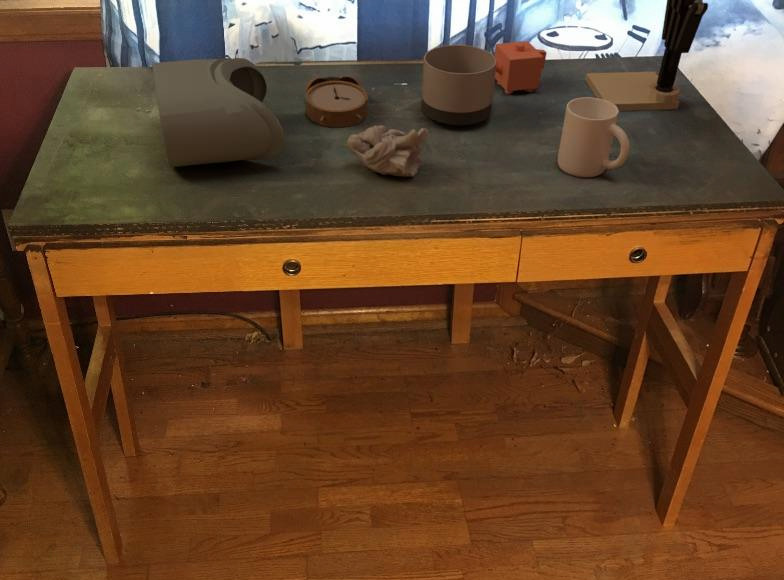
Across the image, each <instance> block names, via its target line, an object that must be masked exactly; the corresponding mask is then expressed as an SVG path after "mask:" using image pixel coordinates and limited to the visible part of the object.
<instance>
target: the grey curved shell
mask: <svg viewBox="0 0 784 580" xmlns="http://www.w3.org/2000/svg"><path fill="white" fill-rule="evenodd" d="M151 66H152V74H153V80H154V88H155V95H156V101H157V107H158V108H157V109H158V114H159V120H160V126H161V132H162V137H163V143H164V144H163V145H164V149H165V157H166V163H167V167H168V168H175V167H187V166H196V165H208V164H217V163H218V164H219V163H229V162H237V161H260V160H261V161H262V160H266V159H270V158H273V157H275V156H277V155H278V154H280V152H281V151H283V149H284V147H285V143H286V137H285V132H284V129H283V127H282V124H281V123H280V121H279V120H278V118H277V117H276V115H275V114H274V113H273V112H272V111H271V109H270V108H269V107H268V106H267V105H265V104H264V103H263V101H264V100H265V97H266V94H267V88H268V86H267V83H266V79H265V77H264V74H263V73H262V70H260V69H259V68H258V67H257V66H256V64H255V63H253V62H252V61H251V60H249V59H246V58H243V57H233V58H231V57H224V58H223V57H222V58H201V59H199V58H198V59H186V60H184V59H183V60H173V61H172V60H171V61H161V62H160V61H159V62H152V64H151Z"/></svg>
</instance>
